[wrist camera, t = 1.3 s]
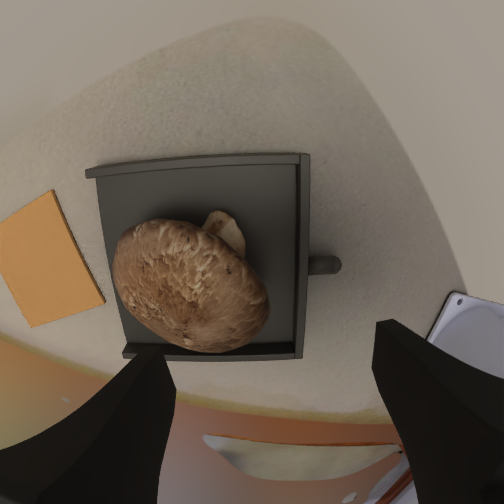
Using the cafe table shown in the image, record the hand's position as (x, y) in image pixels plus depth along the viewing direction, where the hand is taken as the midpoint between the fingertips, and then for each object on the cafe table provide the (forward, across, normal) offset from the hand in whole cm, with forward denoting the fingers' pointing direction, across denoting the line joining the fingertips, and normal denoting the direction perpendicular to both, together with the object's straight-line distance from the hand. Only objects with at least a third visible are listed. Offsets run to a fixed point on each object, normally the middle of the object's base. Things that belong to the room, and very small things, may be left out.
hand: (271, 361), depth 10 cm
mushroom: (+8, +4, 0) cm, 9 cm away
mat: (+9, +15, -2) cm, 17 cm away
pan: (+9, +2, 0) cm, 9 cm away
